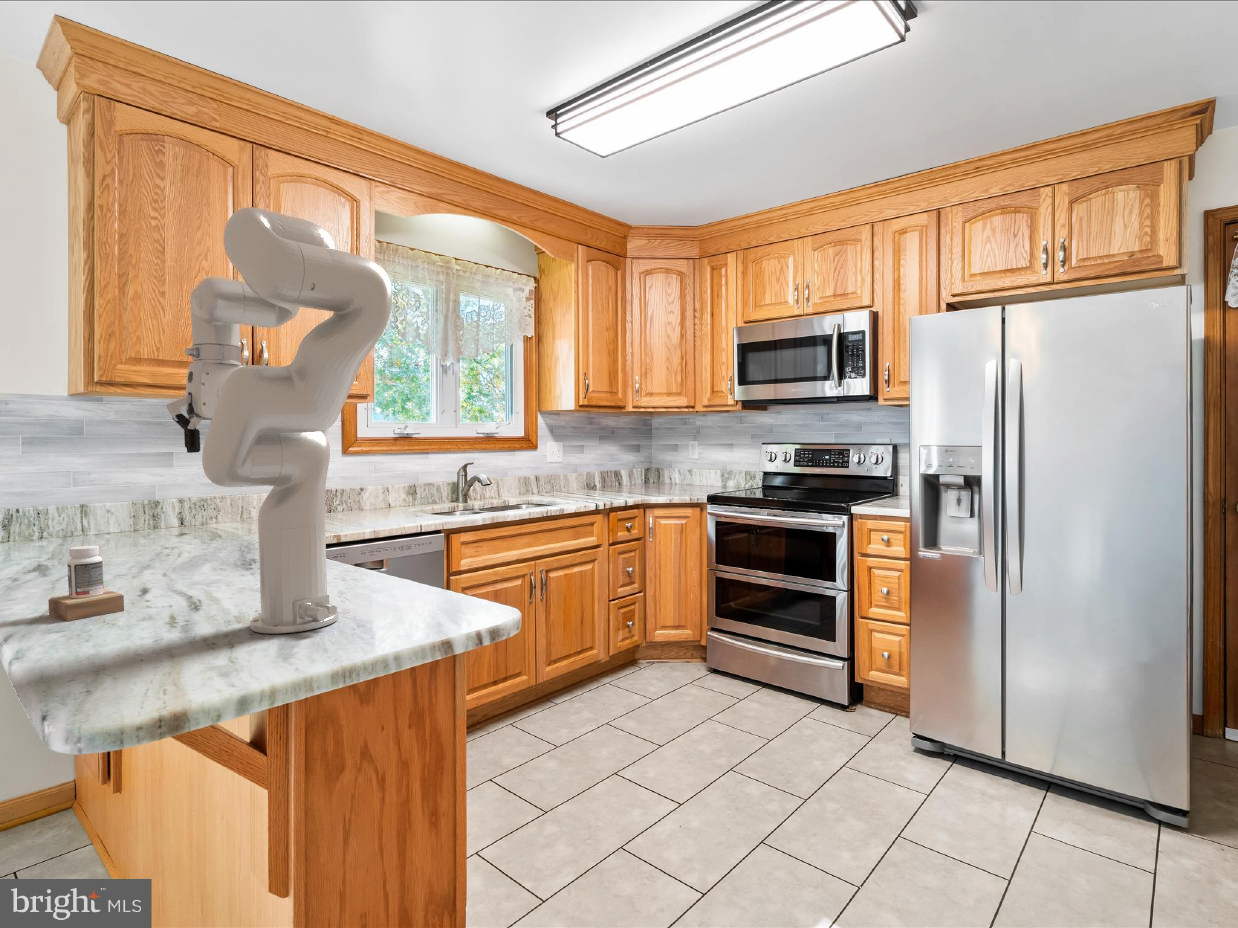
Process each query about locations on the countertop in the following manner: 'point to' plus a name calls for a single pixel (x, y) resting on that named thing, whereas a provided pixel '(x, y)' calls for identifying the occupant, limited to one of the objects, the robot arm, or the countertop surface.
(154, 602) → the countertop surface
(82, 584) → the pill bottle
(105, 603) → the walnut stand
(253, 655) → the countertop surface
